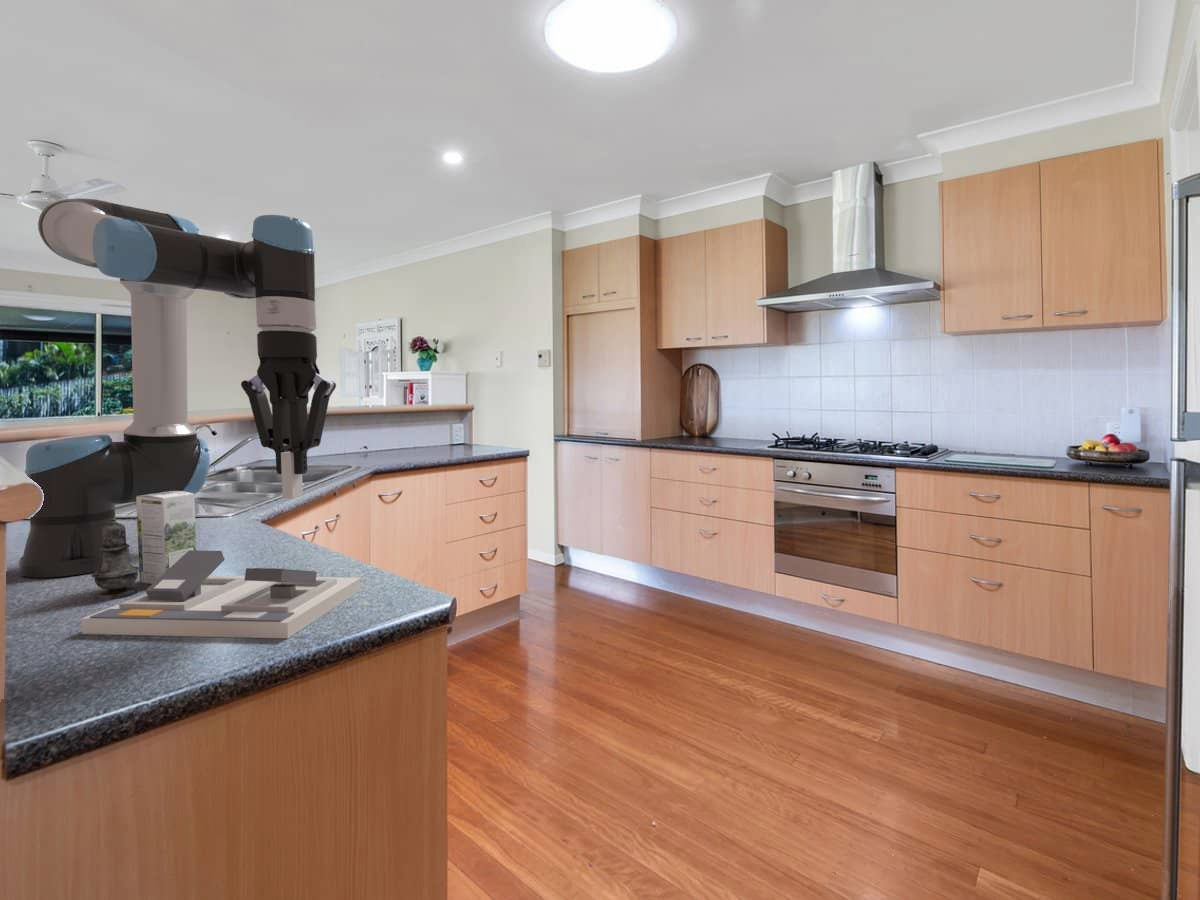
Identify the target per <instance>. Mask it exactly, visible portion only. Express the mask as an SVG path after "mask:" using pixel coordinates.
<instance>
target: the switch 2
mask: <svg viewBox="0 0 1200 900" xmlns="http://www.w3.org/2000/svg"><path fill="white" fill-rule="evenodd" d="M317 574H318V573H317V571H316V570H315V571H314V570H303V569H290V568H289V569H288V568H281V567H254V568H253V567H252V568H249V567H248V568H246V569H245V575H244V576H245V580H244V581H266V582H301V583H315V582H316V577H317Z"/></svg>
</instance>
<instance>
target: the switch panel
mask: <svg viewBox="0 0 1200 900" xmlns="http://www.w3.org/2000/svg"><path fill="white" fill-rule="evenodd" d="M361 579H362V577H334V576H332V577H331V576H330V577H329V576H328V577H327V576H324V577H322V576H316V582H315V583H301V582H266V581H244V580H245V575H211V574H210V575H209V576H208V577H207V578H206V579H205V580H204V581H203V582H202V583H201V584H200V585H199V587H198V588H197V589H196V590H195V591H194V592H193V593H192V594H191V595H190V596H189V597H188V598H187V599H186V600H185V601H184V600H150V599H149V597H148V595H147V593H144V594H141V595H138V596H136V597H133V598H131V599H128V600H126V601H123V602H120V603H118V604H116V605H113V606H110V607H107V608H106V609H102V610H101V611H97V612H95V613H92V614H90V615H87V616H84V617H81V634H82V635H111V636H114V635H117V636H153V637H154V636H156V637H157V636H161V637H163V636H165V637H201V638H202V637H204V638H207V637H209V638H210V637H211V638H241V639H242V638H243V639H245V638H247V639H249V638H250V639H251V638H252V639H253V638H254V639H257V638H258V639H289V638H291V637H293V636H294V635H296V634H297V633H299V632H300V631H302V630H303V629H305V628H306V627H308V626H309V625H311V624H313V623H314V622H315V621H317V620H318V619H320V618H321V617H323V616H324V615H327V614H329V612H330V611H332V610H334V609H335V608H337V607H338V606H339V605H341V604H343V603H344V602H346V601H347V600H349V599H351V598H352V597H353V596H355V595H356V594H358V593H359V592H361V590H362V584H361V583H362V582H361V581H362V580H361Z"/></svg>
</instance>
